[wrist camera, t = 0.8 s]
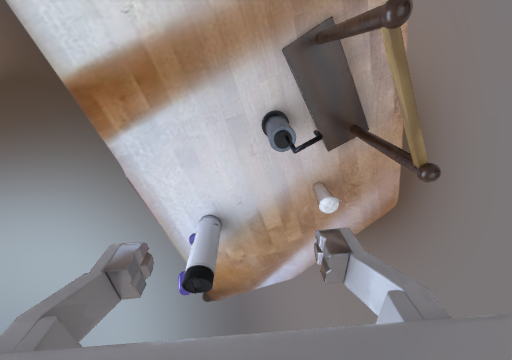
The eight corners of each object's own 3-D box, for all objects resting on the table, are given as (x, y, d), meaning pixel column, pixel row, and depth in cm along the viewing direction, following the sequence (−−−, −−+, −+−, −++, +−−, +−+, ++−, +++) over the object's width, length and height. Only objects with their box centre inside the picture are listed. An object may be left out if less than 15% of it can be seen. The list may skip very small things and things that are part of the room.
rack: (326, 149, 51) (386, 211, 30) (281, 49, 41) (323, 33, 19) (366, 128, 49) (461, 178, 28) (329, 17, 39) (436, -41, 17)
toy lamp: (202, 231, 62) (189, 283, 47) (208, 242, 64) (198, 295, 49) (187, 235, 62) (169, 288, 48) (193, 246, 64) (179, 300, 50)
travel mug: (219, 212, 59) (208, 275, 41) (223, 231, 62) (214, 296, 44) (196, 215, 59) (176, 279, 41) (201, 233, 62) (185, 299, 44)
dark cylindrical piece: (269, 141, 50) (282, 178, 34) (256, 119, 47) (263, 148, 31) (301, 123, 48) (331, 152, 32) (290, 99, 46) (315, 118, 29)
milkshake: (332, 185, 56) (349, 207, 48) (316, 197, 58) (329, 221, 49) (322, 174, 55) (337, 195, 46) (306, 187, 56) (318, 210, 48)
